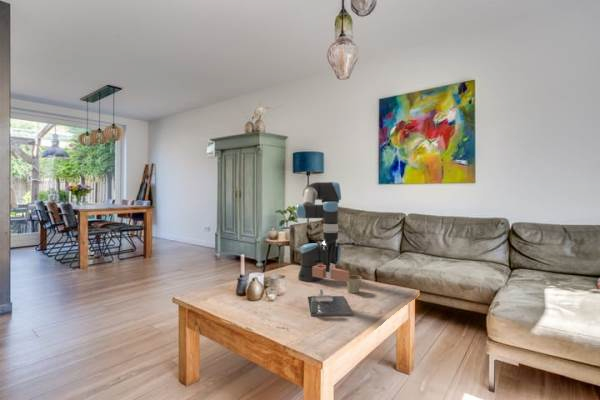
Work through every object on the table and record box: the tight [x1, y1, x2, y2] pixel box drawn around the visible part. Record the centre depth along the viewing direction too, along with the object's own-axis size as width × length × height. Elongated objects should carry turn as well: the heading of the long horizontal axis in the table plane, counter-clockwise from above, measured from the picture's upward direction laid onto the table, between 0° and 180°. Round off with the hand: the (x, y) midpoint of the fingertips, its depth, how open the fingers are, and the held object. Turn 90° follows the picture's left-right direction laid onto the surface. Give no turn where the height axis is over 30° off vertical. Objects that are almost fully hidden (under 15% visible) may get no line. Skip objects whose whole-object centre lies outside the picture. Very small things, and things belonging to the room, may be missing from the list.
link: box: [312, 263, 350, 283], centre depth 159 cm, size 19×7×5 cm, turn 52°
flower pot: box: [346, 274, 363, 294], centre depth 181 cm, size 9×9×9 cm
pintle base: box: [307, 288, 354, 317], centre depth 159 cm, size 24×20×8 cm
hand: (330, 277), depth 160 cm, fingers closed on link, 3 cm apart
